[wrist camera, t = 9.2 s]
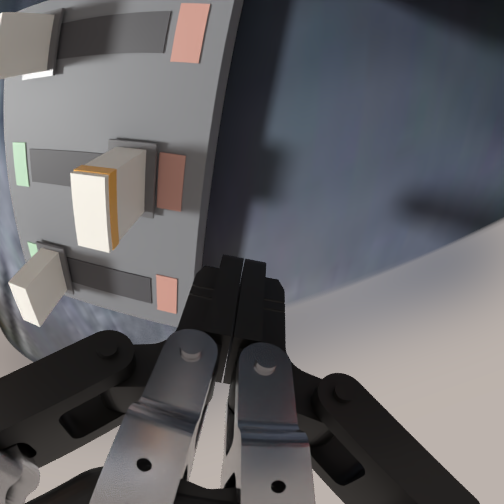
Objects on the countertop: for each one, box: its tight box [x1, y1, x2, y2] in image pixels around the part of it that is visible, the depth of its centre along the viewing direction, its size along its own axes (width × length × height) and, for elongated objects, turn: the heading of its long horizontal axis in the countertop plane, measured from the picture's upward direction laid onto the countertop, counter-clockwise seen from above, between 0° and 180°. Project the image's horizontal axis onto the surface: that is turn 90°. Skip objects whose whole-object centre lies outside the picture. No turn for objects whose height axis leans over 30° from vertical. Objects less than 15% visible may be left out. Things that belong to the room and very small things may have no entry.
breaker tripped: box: [70, 139, 158, 253], centre depth 15 cm, size 3×5×5 cm
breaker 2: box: [9, 241, 75, 327], centre depth 19 cm, size 3×5×5 cm
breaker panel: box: [4, 0, 244, 327], centre depth 18 cm, size 17×25×3 cm
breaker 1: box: [0, 8, 64, 80], centre depth 10 cm, size 3×5×5 cm
